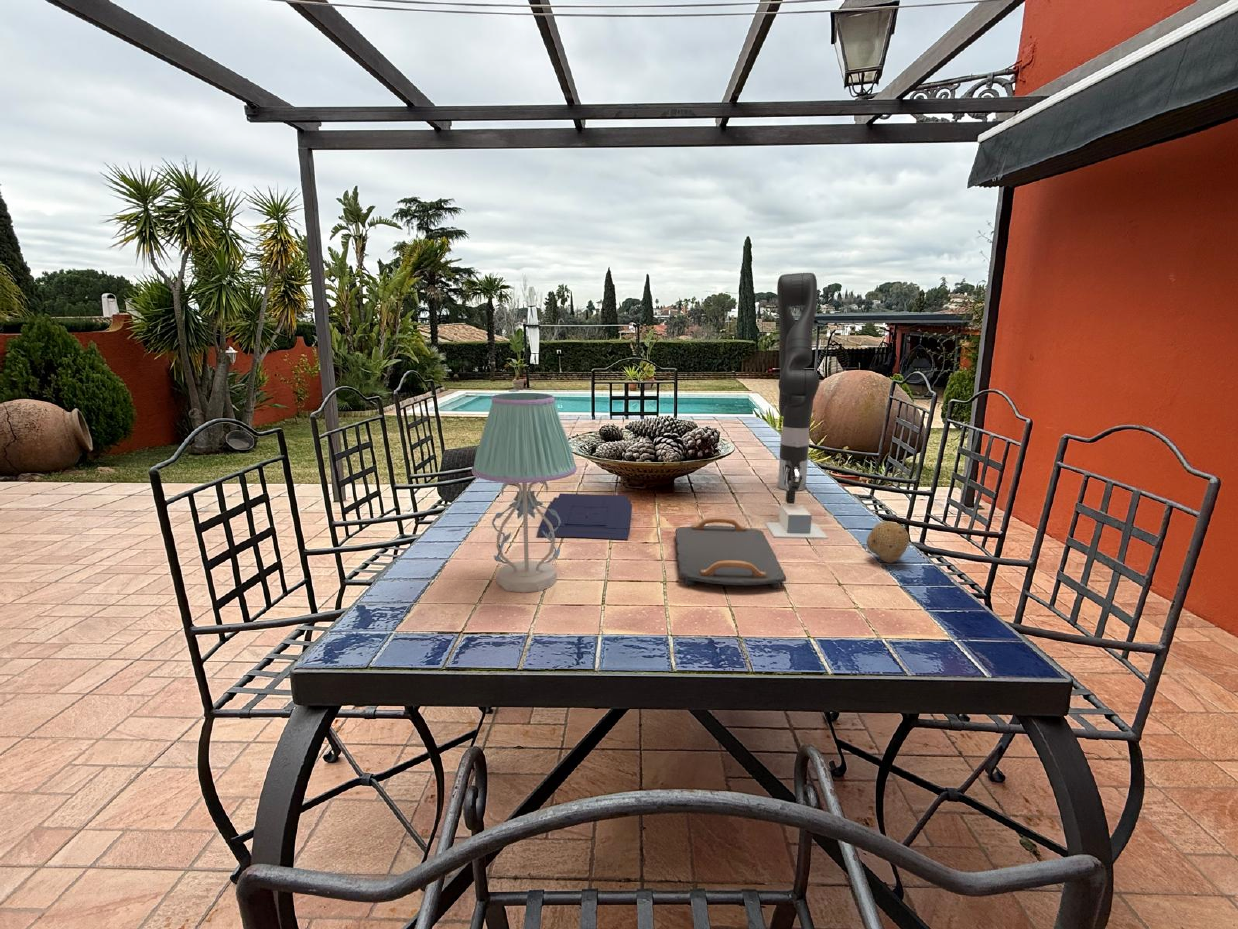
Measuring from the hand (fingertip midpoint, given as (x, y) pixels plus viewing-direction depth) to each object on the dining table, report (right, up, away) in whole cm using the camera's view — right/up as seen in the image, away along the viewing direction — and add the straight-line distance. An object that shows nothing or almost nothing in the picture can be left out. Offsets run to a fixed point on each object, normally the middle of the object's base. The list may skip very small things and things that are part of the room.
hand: (789, 502), depth 181 cm
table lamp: (-68, -14, -42) cm, 81 cm away
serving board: (-23, -13, -28) cm, 39 cm away
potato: (+15, -13, -28) cm, 34 cm away
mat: (0, -7, -7) cm, 10 cm away
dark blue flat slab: (-57, -6, -1) cm, 57 cm away
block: (0, -3, -1) cm, 3 cm away
